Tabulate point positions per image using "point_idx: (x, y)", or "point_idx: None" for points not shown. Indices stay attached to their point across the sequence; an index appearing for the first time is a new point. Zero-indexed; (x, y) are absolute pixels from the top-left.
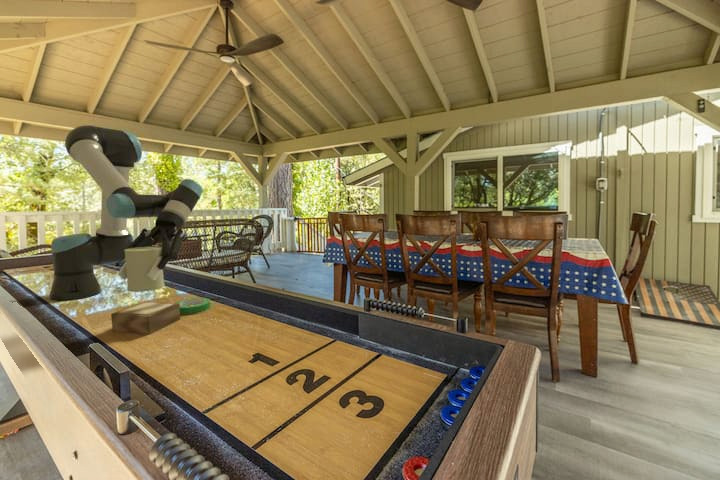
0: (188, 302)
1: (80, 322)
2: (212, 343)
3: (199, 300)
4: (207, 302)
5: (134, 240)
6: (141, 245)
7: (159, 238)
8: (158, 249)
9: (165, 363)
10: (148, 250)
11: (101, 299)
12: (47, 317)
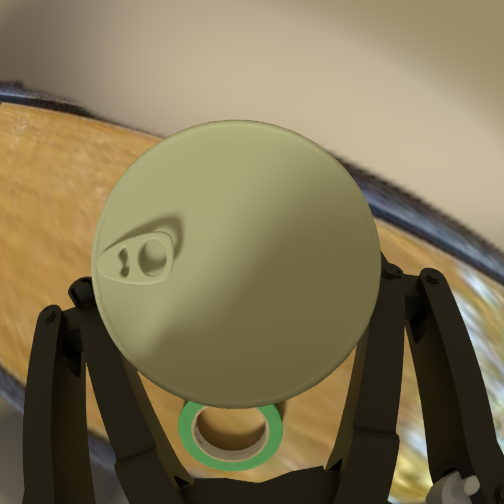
0: (261, 442)
1: (419, 245)
2: (36, 230)
3: (234, 458)
4: (183, 439)
5: (477, 371)
6: (367, 352)
7: (226, 478)
8: (92, 281)
9: (66, 142)
10: (110, 192)
11: (498, 374)
12: (491, 249)
